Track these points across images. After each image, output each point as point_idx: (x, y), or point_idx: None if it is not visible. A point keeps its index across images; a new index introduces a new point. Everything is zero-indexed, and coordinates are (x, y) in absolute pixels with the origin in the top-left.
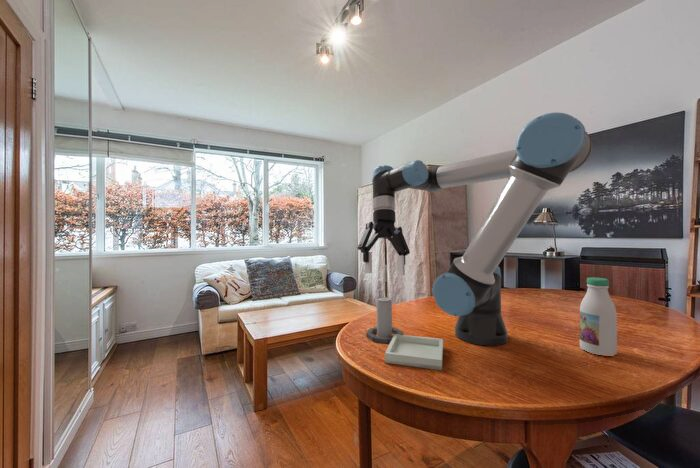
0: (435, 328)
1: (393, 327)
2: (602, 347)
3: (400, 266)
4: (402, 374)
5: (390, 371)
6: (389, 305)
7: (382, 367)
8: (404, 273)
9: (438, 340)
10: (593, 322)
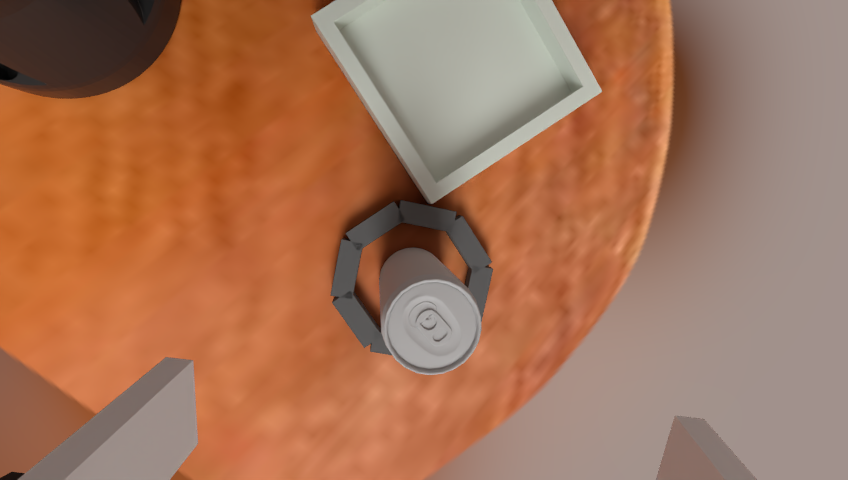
0: (144, 192)
1: (335, 301)
2: None
3: (118, 477)
4: (601, 4)
5: (614, 44)
6: (428, 269)
7: (613, 82)
8: (158, 365)
9: (335, 26)
10: None
